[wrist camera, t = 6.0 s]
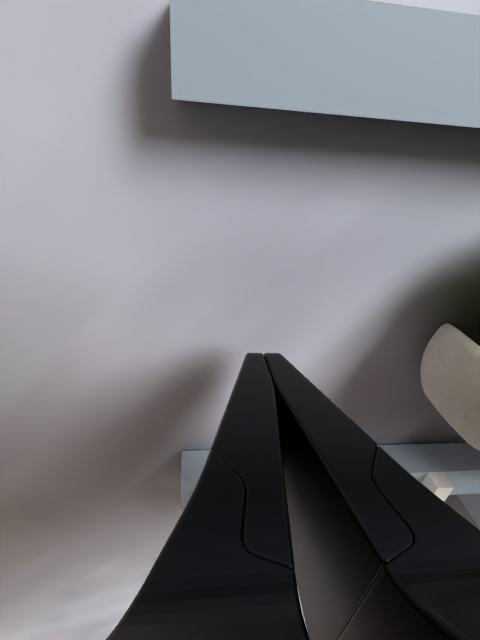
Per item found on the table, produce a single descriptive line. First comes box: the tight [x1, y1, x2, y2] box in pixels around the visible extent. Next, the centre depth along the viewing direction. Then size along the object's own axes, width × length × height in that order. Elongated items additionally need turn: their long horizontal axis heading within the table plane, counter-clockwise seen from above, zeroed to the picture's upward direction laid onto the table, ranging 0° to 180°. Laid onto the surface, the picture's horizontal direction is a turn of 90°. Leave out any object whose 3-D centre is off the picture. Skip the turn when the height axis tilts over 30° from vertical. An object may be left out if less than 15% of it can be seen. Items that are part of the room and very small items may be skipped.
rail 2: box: [180, 443, 480, 508], centre depth 13 cm, size 20×2×2 cm, turn 86°
